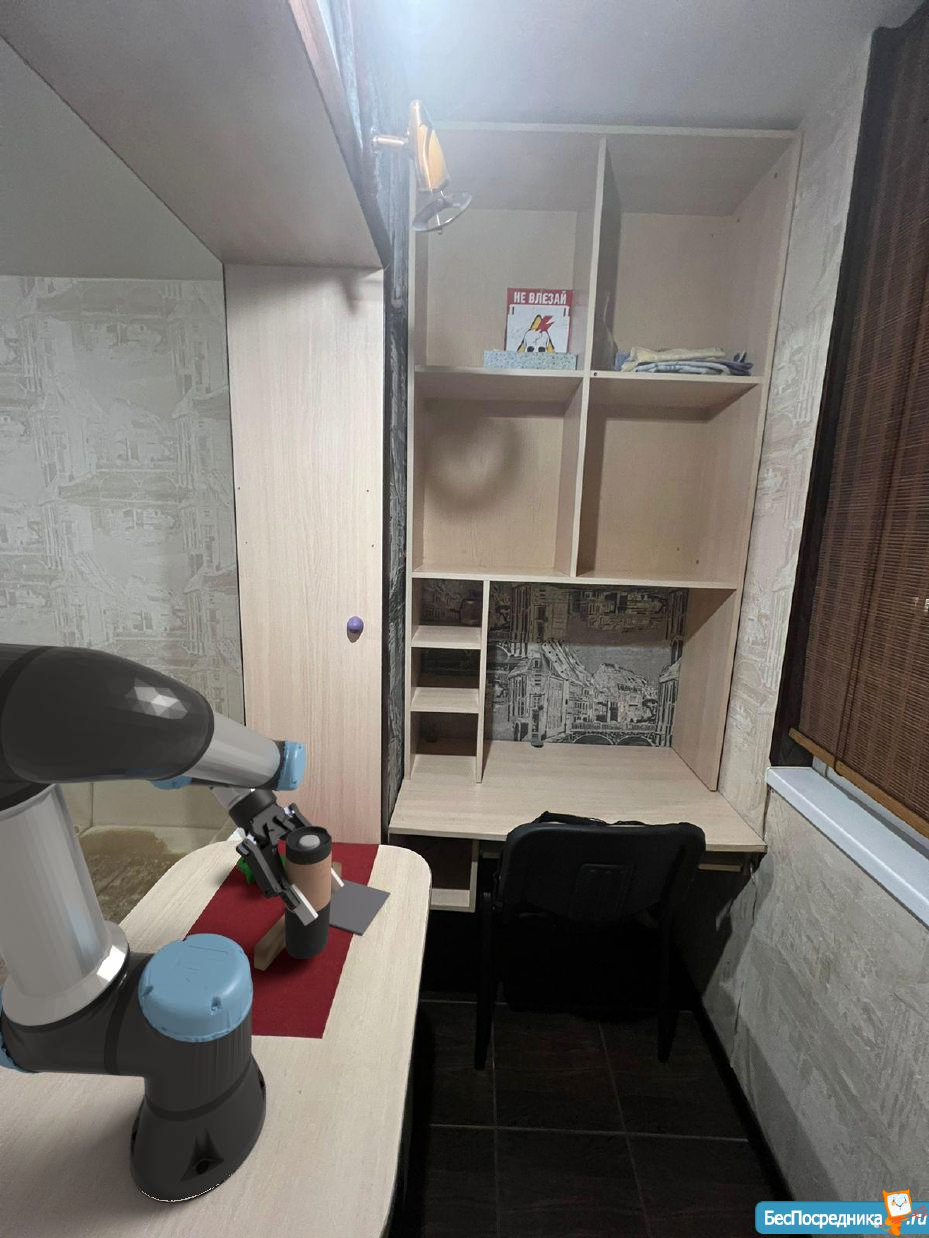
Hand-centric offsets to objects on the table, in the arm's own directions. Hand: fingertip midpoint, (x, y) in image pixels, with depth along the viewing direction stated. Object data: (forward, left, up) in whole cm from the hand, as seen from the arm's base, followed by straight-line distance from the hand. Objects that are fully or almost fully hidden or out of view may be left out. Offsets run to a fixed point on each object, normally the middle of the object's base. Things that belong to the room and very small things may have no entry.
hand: (325, 904), depth 89 cm
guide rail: (+8, +9, -11) cm, 17 cm away
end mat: (+14, +2, -11) cm, 18 cm away
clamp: (+14, +22, -12) cm, 29 cm away
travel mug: (0, +3, -9) cm, 9 cm away
